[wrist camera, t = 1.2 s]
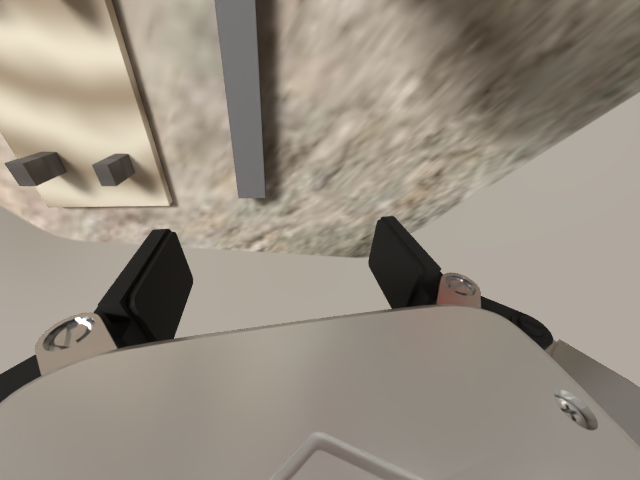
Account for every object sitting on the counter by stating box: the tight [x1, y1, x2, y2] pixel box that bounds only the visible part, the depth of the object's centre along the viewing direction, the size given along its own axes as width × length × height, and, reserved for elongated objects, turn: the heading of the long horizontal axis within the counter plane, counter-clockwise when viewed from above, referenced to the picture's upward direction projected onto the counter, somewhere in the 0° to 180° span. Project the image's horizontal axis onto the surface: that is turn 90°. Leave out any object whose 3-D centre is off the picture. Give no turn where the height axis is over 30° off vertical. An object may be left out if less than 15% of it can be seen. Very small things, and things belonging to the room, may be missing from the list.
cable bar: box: [215, 0, 265, 198], centre depth 23 cm, size 20×3×4 cm, turn 175°
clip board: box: [0, 0, 172, 207], centre depth 19 cm, size 24×12×5 cm, turn 176°
